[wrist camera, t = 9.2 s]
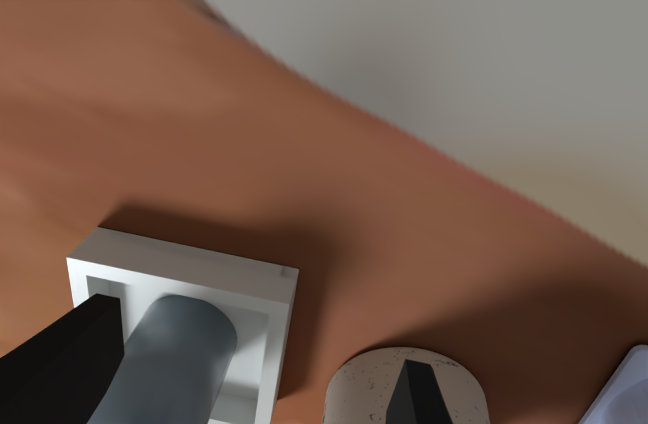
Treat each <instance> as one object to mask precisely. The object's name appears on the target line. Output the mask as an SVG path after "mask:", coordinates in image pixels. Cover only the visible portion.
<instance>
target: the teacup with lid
mask: <svg viewBox="0 0 648 424" xmlns="http://www.w3.org/2000/svg"><path fill="white" fill-rule="evenodd" d="M405 359H409V360H413V361H418V362H423V363H427V364H430V365H431V366H432V368H433V370H434V373H435V376H436V379H437V382H438V385H439V388H440V391H441V393H442V396H443V399H444V401H445V404H446V407H447V409H448V412H449V414H450V417H451V419H452V422H453V424H490V420H489V414H488V409H487V404H486V399H485V395H484V392H483V390H482V388H481V386H480V384H479V383H478V381H477V380H476V379H475V377H474V376H473V375H472V374H471V373H470V372H469V371H468V370H467V369H466V368H464V367H463V366H462V365H460V364H459V363H457V362H455V361H454V360H452V359H450V358H448V357H446V356H444V355H441V354H438V353H435V352H432V351H428V350H424V349H419V348H411V347H389V348H382V349H377V350H373V351H369V352H366V353H363V354H361V355H359V356H357V357H355V358H353V359H351V360H350V361H348V362H347V363H345V364H344V365H343V366H342V367H341V368H339V369H338V371H337V372H336V373H335V374H334V376H333V377H332V379H331V381H330V383H329V385H328V389H327V393H326V400H325V406H324V413H323V420H322V424H385V421H386V411H387V408H388V405H389V402H390V400H391V397H392V394H393V391H394V389H395V386H396V383H397V380H398V378H399V375H400V372H401V369H402V367H403V364H404V361H405Z"/></svg>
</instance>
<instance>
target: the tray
mask: <svg viewBox="0 0 648 424" xmlns="http://www.w3.org/2000/svg"><path fill="white" fill-rule="evenodd" d="M67 264H68V270H69V277H70V283H71V290H72V297H73V303H74V308H75V307H77V306H78V305H80V304H81V303H82V302H84V301H85V300H87V299H88V298H90V297H91V296H93V295H94V294H96V293H98V294H103V295H107V296H112V297H117V298H120V303H121V315H122V327H123V339H124V344H125V342H126V341H127V339H128V338H129V336H130V335H131V333H132V331H133V330H134V328H135V327H136V325H137V324H138V322H139V320H140V319H141V317H142V316H143V314H144V313H145V311H146V310H147V308H148V307H149V305H151V304H152V303H153V302H154V301H156V300H157V299H160V298H162V297H165V296H170V295H182V296H187V297H192V298H197V299H201V300H204V301H206V302H208V303H210V304H212V305H214V306H215V307H217V308H218V309H220V310H221V311H222V312H223V313H224V314H225V315H226V316H227V317H228V318H229V319H230V321H231V322H232V324H233V326H234V328H235V330H236V333H237V347H236V349H235V352H234V355H233V357H232V360H231V363H230V365H229V368H228V371H227V373H226V376H225V379H224V381H223V384H222V387H221V389H220V392H219V395H218V397H217V400H216V403H215V405H214V408H213V411H212V413H211V416H210V419H209V421H208V424H271V423H272V419H273V415H274V411H275V407H276V403H277V397H278V391H279V385H280V380H281V374H282V368H283V362H284V356H285V350H286V344H287V338H288V333H289V327H290V321H291V315H292V309H293V303H294V297H295V291H296V285H297V280H298V274H299V269H296V268H291V267H287V266H282V265H277V264H272V263H268V262H263V261H258V260H253V259H248V258H244V257H239V256H234V255H229V254H224V253H220V252H215V251H210V250H205V249H201V248H196V247H191V246H186V245H181V244H177V243H172V242H167V241H162V240H157V239H153V238H148V237H143V236H138V235H134V234H129V233H124V232H119V231H114V230H110V229H105V228H100V227H96V228H95V229H94V230H93V231H92V232H91V233H90V234H89V235H88V236H87V237H86V238H85V239H84V240H83V241H82V242H81V243H80V244H79V245H78V246H77V247H76V248H75V249H74V250H73V251H72V252H71V253H70V254H69V255H68V256H67Z"/></svg>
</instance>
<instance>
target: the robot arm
mask: <svg viewBox="0 0 648 424" xmlns="http://www.w3.org/2000/svg"><path fill="white" fill-rule="evenodd" d="M124 355H125V351H124V339H123V327H122V315H121V303H120V298H117V297H112V296H107V295H103V294H98V293H96V294H94V295H93V296H91V297H90V298H88V299H87V300H85V301H84V302H82V303H81V304H80V305H78V306H77V307H75V308H74V309H72V310H71V311H70V312H68V313H67V314H65V315H64V316H62V317H61V318H60V319H58V320H57V321H55V322H54V323H52V324H51V325H50V326H48V327H47V328H45V329H44V330H42V331H41V332H39V333H38V334H36V335H35V336H33V337H32V338H30V339H29V340H27V341H26V342H24V343H23V344H21V345H20V346H18V347H17V348H15V349H14V350H12V351H11V352H9V353H8V354H6V355H5V356H3V357H1V358H0V424H87V422H88V421H89V419H90V418H91V416H92V415H93V413H94V411H95V410H96V408H97V407H98V405H99V404H100V402H101V400H102V399H103V397H104V396H105V394H106V392H107V390H108V388H109V386H110V384H111V382H112V380H113V378H114V376H115V374H116V372H117V370H118V368H119V366H120V364H121V362H122V360H123V357H124ZM385 424H453V422H452V419H451V417H450V414H449V412H448V409H447V407H446V404H445V401H444V399H443V396H442V393H441V391H440V388H439V385H438V382H437V379H436V376H435V373H434V370H433V368H432V366H431V365H430V364H427V363H423V362H418V361H413V360H409V359H405V361H404V364H403V367H402V369H401V372H400V375H399V378H398V380H397V383H396V386H395V389H394V391H393V394H392V397H391V400H390V402H389V405H388V408H387V411H386V421H385ZM578 424H648V345H638V346H635V347H633V348H632V349H631V350H630V351H629V353H628V354H627V356H626V357H625V358H624V360H623V361H622V363H621V364H620V365H619V367H618V368H617V370H616V371H615V372H614V374H613V375H612V377H611V378H610V379H609V381H608V382H607V384H606V385H605V386H604V388H603V389H602V391H601V392H600V393H599V395H598V396H597V398H596V399H595V401H594V402H593V403H592V405H591V406H590V408H589V409H588V410H587V412H586V413H585V415H584V416H583V417H582V419H581V420H580V422H579V423H578Z"/></svg>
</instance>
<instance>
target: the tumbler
mask: <svg viewBox="0 0 648 424" xmlns="http://www.w3.org/2000/svg"><path fill="white" fill-rule="evenodd" d="M236 347H237V333H236V330H235V328H234V326H233V324H232V322H231V321H230V319H229V318H228V317H227V316H226V315H225V314H224V313H223V312H222V311H221V310H220V309H218V308H217V307H215V306H214V305H212V304H210V303H208V302H206V301H204V300H201V299H197V298H192V297H187V296H182V295H170V296H165V297H162V298H160V299H157V300H156V301H154V302H153V303H152V304H151V305H149V307H148V308H147V310H146V311H145V313H144V314H143V316H142V317H141V319H140V320H139V322H138V324H137V325H136V327H135V328H134V330H133V331H132V333H131V335H130V336H129V338H128V339H127V341H126V342H125V344H124V351H125V355H124V357H123V360H122V362H121V364H120V366H119V368H118V370H117V372H116V374H115V376H114V378H113V380H112V382H111V384H110V386H109V388H108V390H107V392H106V394H105V396H104V397H103V399H102V400H101V402H100V404H99V405H98V407H97V408H96V410H95V411H94V413H93V415H92V416H91V418H90V419H89V421H88V422H87V424H208V421H209V419H210V416H211V413H212V411H213V408H214V405H215V403H216V400H217V397H218V395H219V392H220V389H221V387H222V384H223V381H224V379H225V376H226V373H227V371H228V368H229V365H230V363H231V360H232V357H233V355H234V352H235V349H236Z"/></svg>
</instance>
